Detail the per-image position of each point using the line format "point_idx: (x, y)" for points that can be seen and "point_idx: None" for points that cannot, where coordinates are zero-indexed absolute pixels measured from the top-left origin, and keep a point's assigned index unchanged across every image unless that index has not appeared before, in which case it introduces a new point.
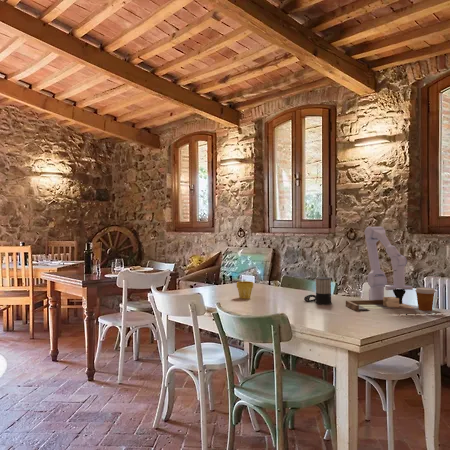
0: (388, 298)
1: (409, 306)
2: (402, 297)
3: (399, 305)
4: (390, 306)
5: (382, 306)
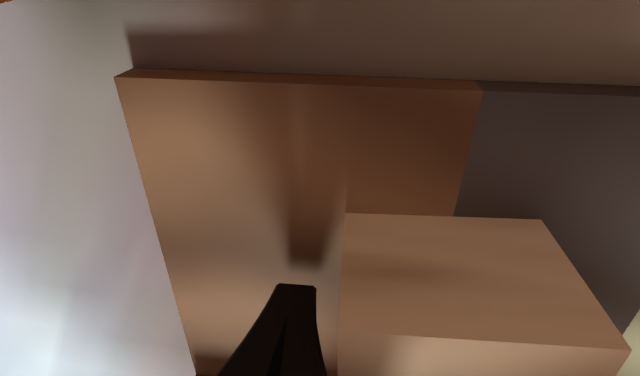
0: (600, 370)
1: (170, 208)
2: (229, 365)
3: None
4: (509, 223)
5: (592, 279)
